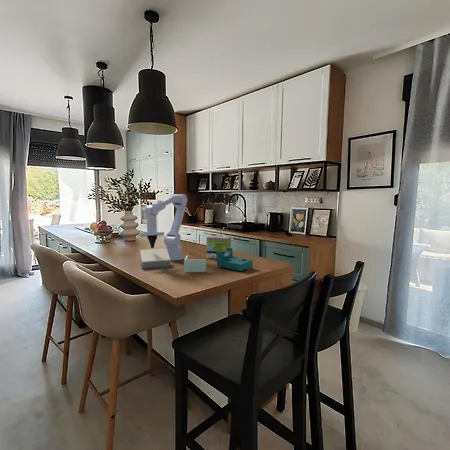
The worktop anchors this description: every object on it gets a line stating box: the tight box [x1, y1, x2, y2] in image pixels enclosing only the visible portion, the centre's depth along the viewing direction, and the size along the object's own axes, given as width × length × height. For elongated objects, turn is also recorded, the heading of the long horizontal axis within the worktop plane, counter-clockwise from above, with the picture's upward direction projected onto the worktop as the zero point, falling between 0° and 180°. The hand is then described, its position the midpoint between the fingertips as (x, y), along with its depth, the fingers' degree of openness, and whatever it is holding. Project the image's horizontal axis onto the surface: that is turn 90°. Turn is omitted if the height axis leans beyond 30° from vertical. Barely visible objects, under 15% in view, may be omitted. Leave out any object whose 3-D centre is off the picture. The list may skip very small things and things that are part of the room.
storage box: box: [139, 257, 171, 270], centre depth 170 cm, size 16×14×4 cm
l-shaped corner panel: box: [183, 254, 207, 273], centre depth 162 cm, size 12×12×8 cm
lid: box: [139, 247, 170, 262], centre depth 170 cm, size 16×14×1 cm
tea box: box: [206, 235, 232, 260], centre depth 193 cm, size 15×10×15 cm
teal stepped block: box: [216, 247, 254, 272], centre depth 165 cm, size 18×11×10 cm, turn 50°
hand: (152, 247), depth 172 cm, fingers closed
